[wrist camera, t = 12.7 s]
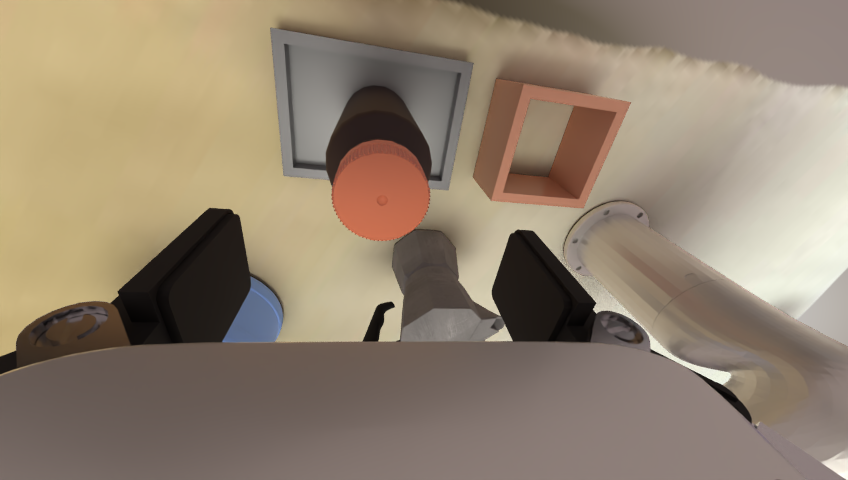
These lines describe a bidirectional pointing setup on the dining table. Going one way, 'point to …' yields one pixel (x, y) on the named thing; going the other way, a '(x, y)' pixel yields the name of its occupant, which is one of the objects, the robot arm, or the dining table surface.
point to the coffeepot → (433, 295)
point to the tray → (348, 73)
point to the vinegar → (378, 166)
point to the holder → (576, 154)
